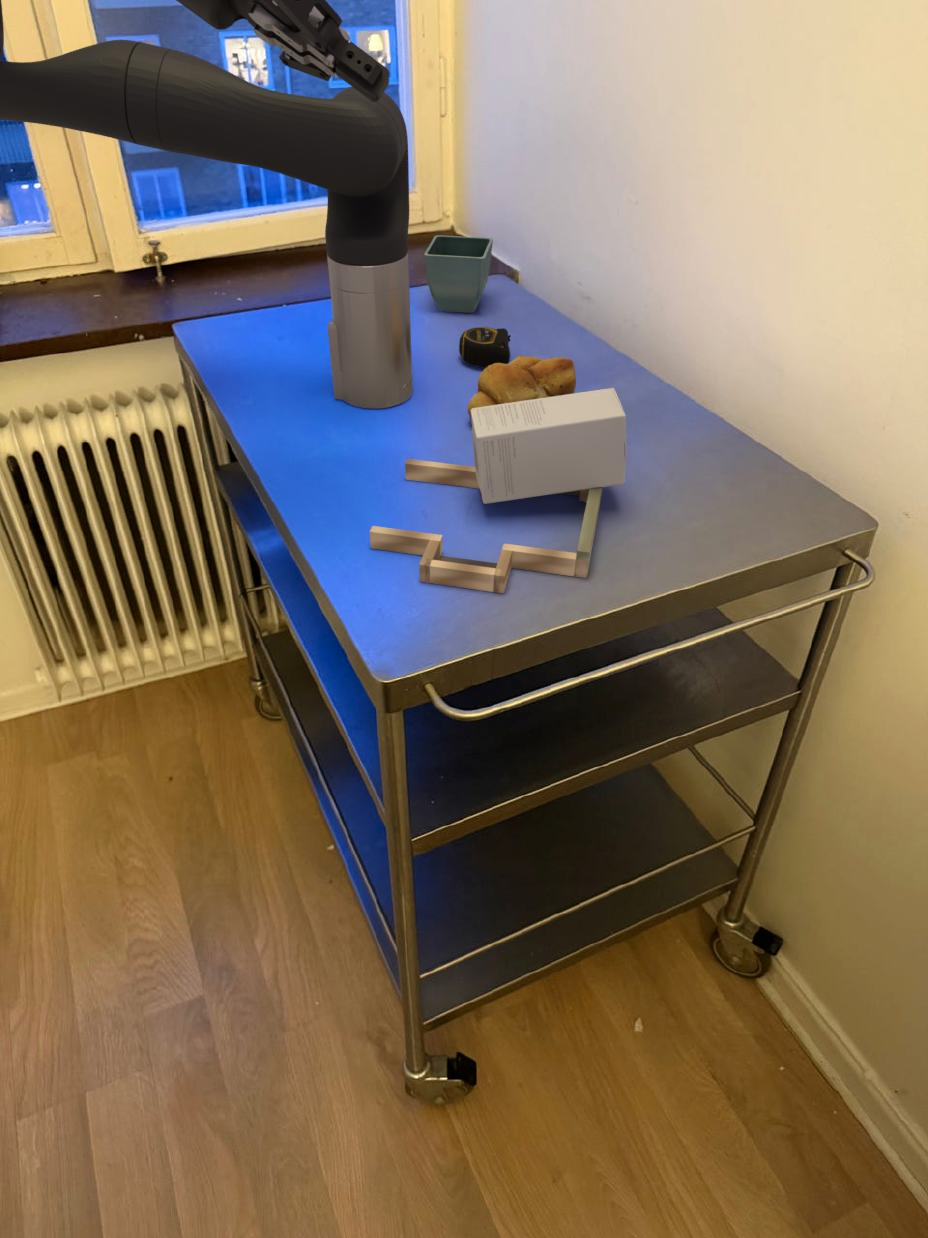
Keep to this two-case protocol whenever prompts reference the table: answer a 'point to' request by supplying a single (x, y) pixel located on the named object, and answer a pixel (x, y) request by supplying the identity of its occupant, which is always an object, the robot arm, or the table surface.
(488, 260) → the flower pot
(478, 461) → the skincare box
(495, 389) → the bread roll
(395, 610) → the table surface
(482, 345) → the tape measure
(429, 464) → the trap lane
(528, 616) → the table surface
